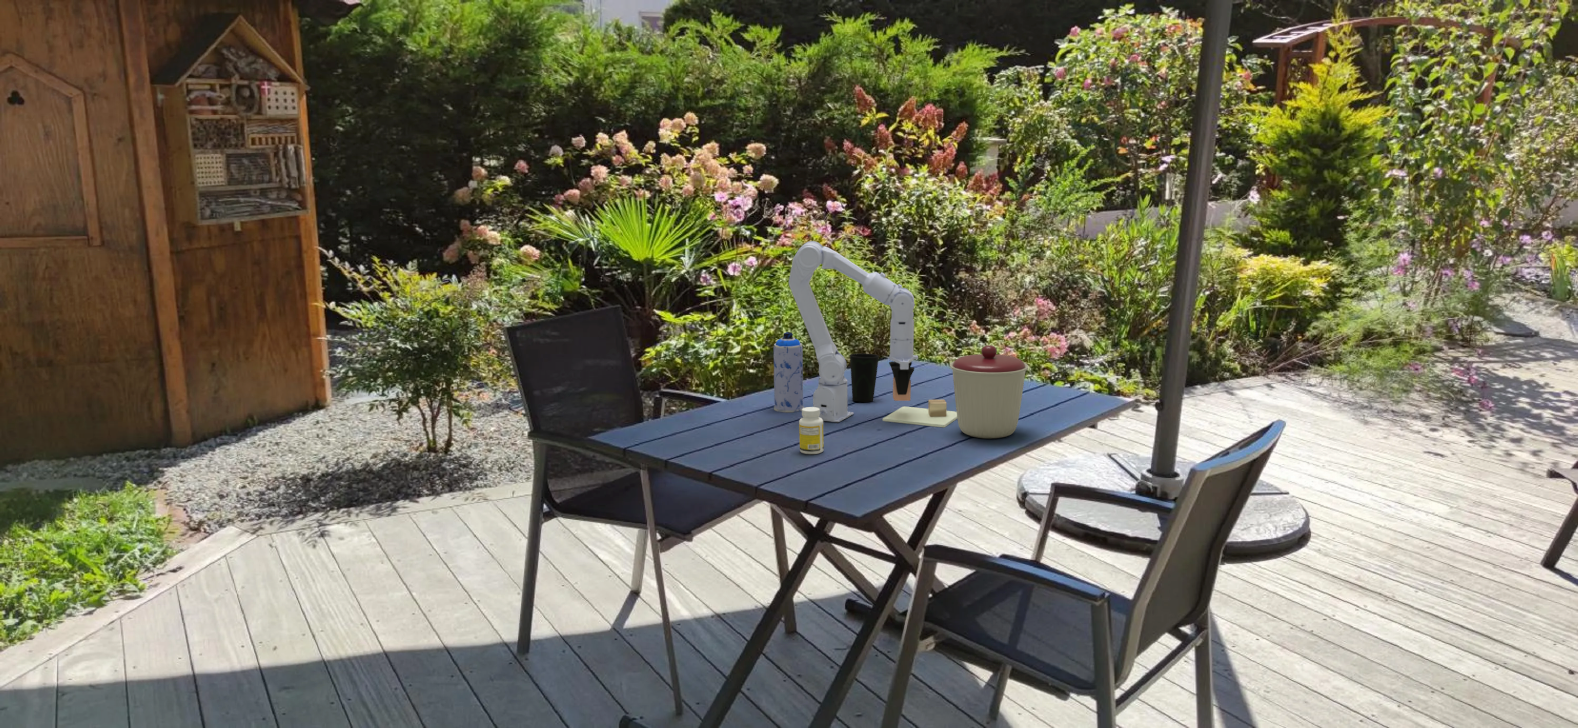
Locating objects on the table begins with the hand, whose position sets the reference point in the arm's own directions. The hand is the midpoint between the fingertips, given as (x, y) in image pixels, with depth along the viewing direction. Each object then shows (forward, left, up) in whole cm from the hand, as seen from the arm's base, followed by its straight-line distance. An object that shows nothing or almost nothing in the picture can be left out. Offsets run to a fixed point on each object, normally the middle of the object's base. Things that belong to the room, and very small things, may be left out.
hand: (901, 392), depth 282 cm
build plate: (+2, -5, -7) cm, 8 cm away
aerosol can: (-3, +30, -7) cm, 31 cm away
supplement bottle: (-37, +7, -7) cm, 38 cm away
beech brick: (+4, -8, -6) cm, 11 cm away
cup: (+13, +16, -7) cm, 22 cm away
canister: (-6, -24, -7) cm, 26 cm away
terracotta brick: (0, 0, -2) cm, 2 cm away
